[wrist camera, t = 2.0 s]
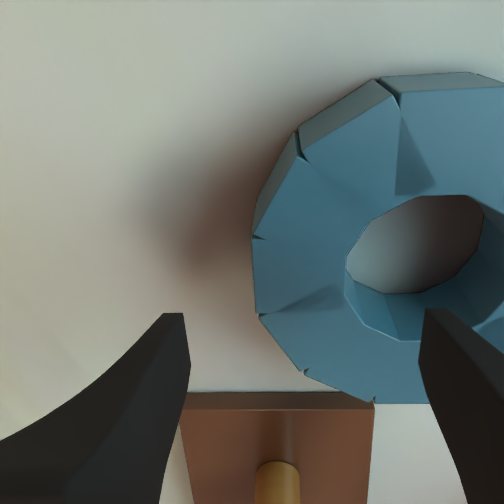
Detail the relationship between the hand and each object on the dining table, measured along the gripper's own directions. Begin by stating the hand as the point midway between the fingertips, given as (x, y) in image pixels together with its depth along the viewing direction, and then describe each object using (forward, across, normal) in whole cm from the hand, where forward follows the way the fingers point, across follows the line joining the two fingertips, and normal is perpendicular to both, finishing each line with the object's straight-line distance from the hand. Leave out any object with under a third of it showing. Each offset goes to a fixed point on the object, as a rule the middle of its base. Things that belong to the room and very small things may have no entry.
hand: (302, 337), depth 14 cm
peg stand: (+7, +1, +14) cm, 16 cm away
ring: (+7, -5, 0) cm, 8 cm away
